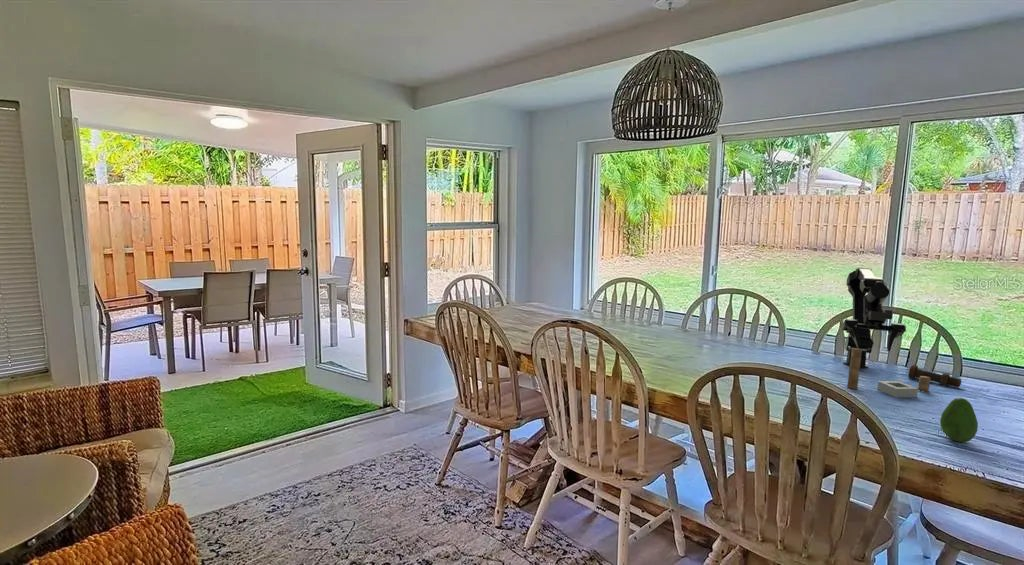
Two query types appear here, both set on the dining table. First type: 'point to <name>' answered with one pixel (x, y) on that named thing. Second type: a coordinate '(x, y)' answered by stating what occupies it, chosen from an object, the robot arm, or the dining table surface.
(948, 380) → the bolt
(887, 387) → the hole block
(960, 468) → the dining table surface
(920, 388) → the short dowel
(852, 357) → the long dowel
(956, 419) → the avocado
